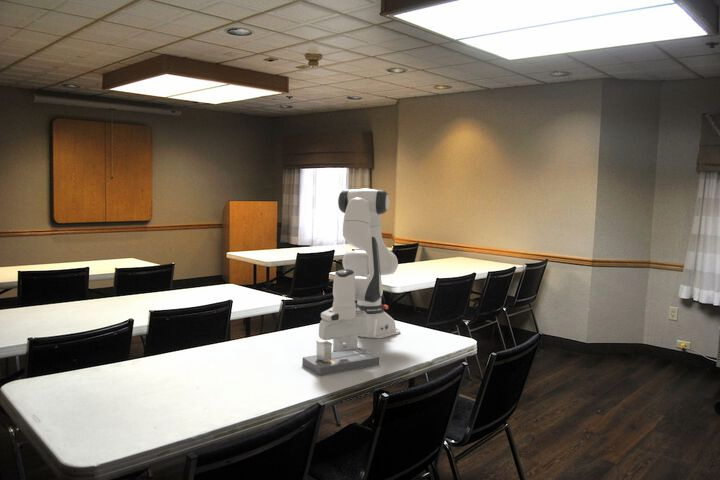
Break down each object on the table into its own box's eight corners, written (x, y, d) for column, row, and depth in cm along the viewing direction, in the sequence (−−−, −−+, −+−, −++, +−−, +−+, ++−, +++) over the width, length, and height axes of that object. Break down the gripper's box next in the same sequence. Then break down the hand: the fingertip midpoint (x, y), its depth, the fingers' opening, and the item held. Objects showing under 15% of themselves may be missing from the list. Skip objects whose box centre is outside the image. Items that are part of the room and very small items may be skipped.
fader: (323, 356, 206) (323, 339, 206) (331, 360, 201) (331, 343, 200) (316, 357, 204) (316, 340, 204) (324, 362, 199) (324, 344, 199)
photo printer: (356, 348, 228) (357, 320, 227) (358, 351, 224) (358, 322, 223) (332, 349, 227) (333, 320, 226) (333, 352, 223) (333, 323, 222)
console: (359, 354, 220) (359, 347, 220) (379, 364, 208) (379, 356, 208) (302, 365, 206) (302, 357, 206) (320, 376, 194) (320, 367, 194)
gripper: (362, 308, 214) (361, 342, 216) (316, 313, 203) (316, 349, 205) (371, 311, 209) (370, 346, 210) (325, 317, 198) (324, 354, 199)
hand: (343, 348), depth 207 cm, fingers closed
